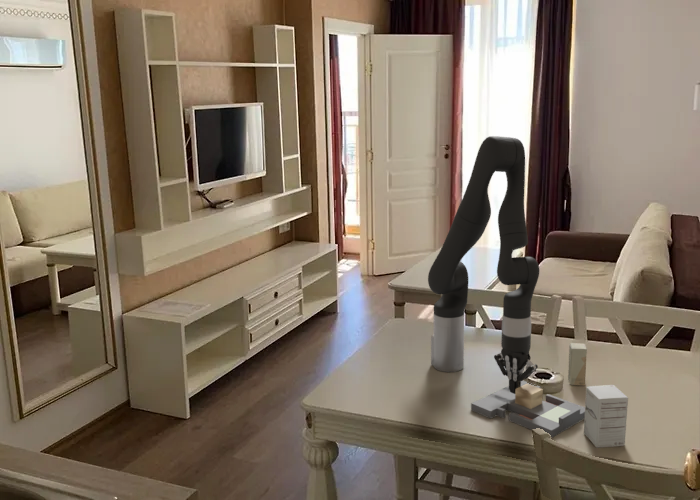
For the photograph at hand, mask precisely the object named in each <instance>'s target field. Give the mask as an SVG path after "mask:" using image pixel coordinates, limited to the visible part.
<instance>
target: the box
mask: <svg viewBox="0 0 700 500" xmlns="http://www.w3.org/2000/svg"><path fill="white" fill-rule="evenodd" d="M587 350H588V349H587V346H586V343H579V342H578V343H577V342H576V343H575V342H570V343H569V349H568V352H569V353H568V370H567V371H568V375H567V380H568V383H569V385H570V386H586V372H587V353H588V351H587Z"/></svg>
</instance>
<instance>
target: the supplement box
mask: <svg viewBox="0 0 700 500" xmlns="http://www.w3.org/2000/svg"><path fill="white" fill-rule="evenodd" d="M628 404H629V397H628V396H627V395H626V394H625V393H624V392H623V391H622V390H620V389H619V388H618V387H617V385H614V384H605V385H603V384H602V385H590V386H586V388H585V404H584V407H585V418H584V419H583V420H584V421H583V422H584V424H583V434H584V435H585V436H586V437H587V438H588V439H589V441H591V443H592V444H593V445H594V447H596V448H609V447H623V446H625V444H626V432H627V431H626V430H627V418H628V407H629V405H628Z"/></svg>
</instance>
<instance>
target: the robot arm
mask: <svg viewBox="0 0 700 500" xmlns="http://www.w3.org/2000/svg"><path fill="white" fill-rule="evenodd" d="M495 172H498V173H499V172H500V173H501V172H503V173H505V175H506V182H507V183H506V191H505V194H504V198H503V200H502V202H501V205H500V208H499V211H498V214H497V215H498V216H497V226H498V233H499V240H500V241H499V242H500V244H499V246H500V248H499V256H498V262H497V267H496V274H497V275H496V276H497V279H498V280H499V282H500V283H501V284H503V285H505V286H515V285H519V286H518V288H516V289H514V290H512V291H508V292H507V293H505V294H504V296H503V301H502V303H503V305H502V306H503V309H502V310H503V311H502V312H503V313H502V320H501V341H500V342H501V343H500V344H501V346H500V347H501V350H500V352H498V353H497V354H495V355H493V358H494V360H495V362H496V364H497V366H498V368H499V370H500V371H501V373H502V375H503V376H506V377H507V378H508V386H509V390H510V392H511V393H514V394H515V389H516V388H519V387H521V381H526V380H527V379H528V378H530V377H531V376H532V374H533V373H535V371H536V370H537V369H538V367H539V366H538V364H536V363H533V361H532V360H531V354H530V350H531V342H532V341H531V340H532V318H531V313H532V310H531V309H532V299H533V296H534V292H535V289H536V286H537V284H538V283H537V282H538V280H539V277H540V266H539V263H538V261H537V260H536V259H535V258H534V257H533V256H518V257H513V252H514V251H515V250H519V249H522V248H524V247H526V246H527V245H528V243H529V238H528V237H529V236H528V228H527V224H526V223H527V222H526V215H525V188H526V187H525V185H526V182H525V181H526V179H525V178H526V152H525V147H524V144H523V142H522V141H521V140H520V139H518V138H516V137H510V136H500V135H498V136H497V135H490V136H487V137H485V139H483V141H482V143H481V144H480V146H479V148H478V152H477V154H476V158H475V161H474V164H473V168H472V171H471V174H470V178H469V180H468V183H467V187H466V189H465V191H464V194H463V196H462V199H461V201H460V203H459V206H458V208H457V210H456V212H455V214H454V217H453V220H452V223H451V226H450V228H449V231H448V232H447V235H446V237H445V240H444V241H443V245H442V247H441V249H440V250H439V252H438V254H437V256H436V257H435V259H434V262H433V263H432V264H431V267H430V269H429V272H428V275H427V283H428V287H429V289H430V290H431V291H432V292H433V293H435V294H436V295H441V297H440V298H439V299H438V300H437V301H436V302H435V303H434V305H433V334H432V335H431V336H430V366H433V368H434V369H435V370H437V371H440V372H447V373H455V372H459V371H461V370H463V369H464V363H465V362H464V361H465V359H464V357H465V352H464V350H465V311H466V310H465V309H466V307H467V304H468V293H469V273H468V269H467V267H466V265H465V264H464V263H463V261H462V259H463V258H464V256H465V255H466V254H467V253H468V252H469V251H471V249H472V248H473V247H474V246H475V245H476V244H477V243H478V242H479V240H480V239H481V237H482V236H483V234H484V233H485V230H486V229H487V226H488V224H489V221H490V219H491V215H492V207H491V202H490V197H489V192H488V191H489V187H490V182H491V180H492V177H493V176H494V173H495Z"/></svg>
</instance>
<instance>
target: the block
mask: <svg viewBox="0 0 700 500" xmlns="http://www.w3.org/2000/svg"><path fill="white" fill-rule="evenodd" d="M543 390H544V389H543V388H542V387H541V388H538V387H535V386H532V385H530V384H525V385H523V386H521V387H519V388H516V389H515V403H516V404H519V405H522V406H524V407H527V408H529V409H532V408H534V407H536V406H538V405H540V404H542V400H543V396H544V391H543Z"/></svg>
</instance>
